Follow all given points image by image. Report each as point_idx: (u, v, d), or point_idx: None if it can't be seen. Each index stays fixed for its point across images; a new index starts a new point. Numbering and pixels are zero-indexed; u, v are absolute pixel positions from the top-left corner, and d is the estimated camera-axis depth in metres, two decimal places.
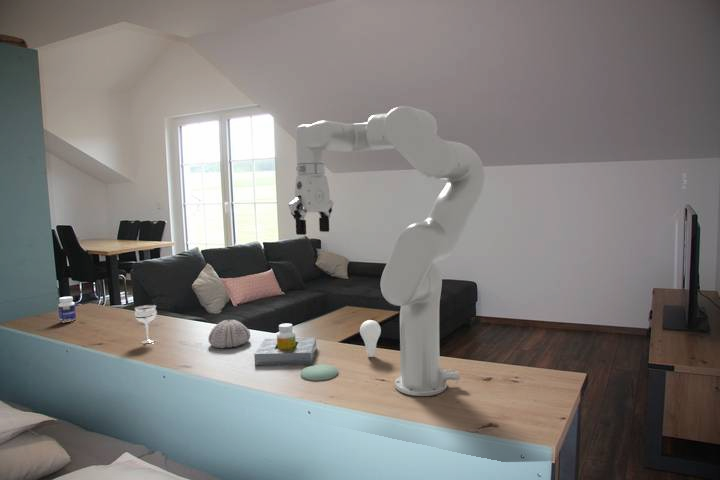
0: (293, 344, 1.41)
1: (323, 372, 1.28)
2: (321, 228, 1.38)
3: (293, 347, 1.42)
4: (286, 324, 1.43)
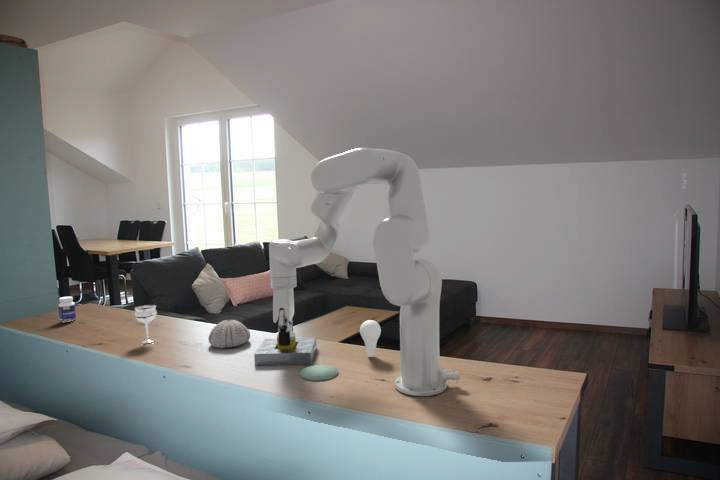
0: (293, 344, 1.41)
1: (323, 372, 1.28)
2: None
3: (293, 347, 1.42)
4: None
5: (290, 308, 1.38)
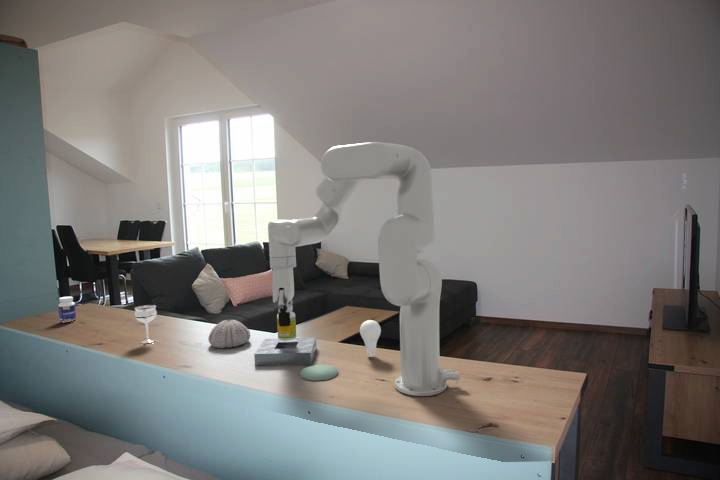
0: (293, 325, 1.41)
1: (323, 372, 1.28)
2: None
3: (293, 328, 1.41)
4: None
5: (290, 288, 1.38)
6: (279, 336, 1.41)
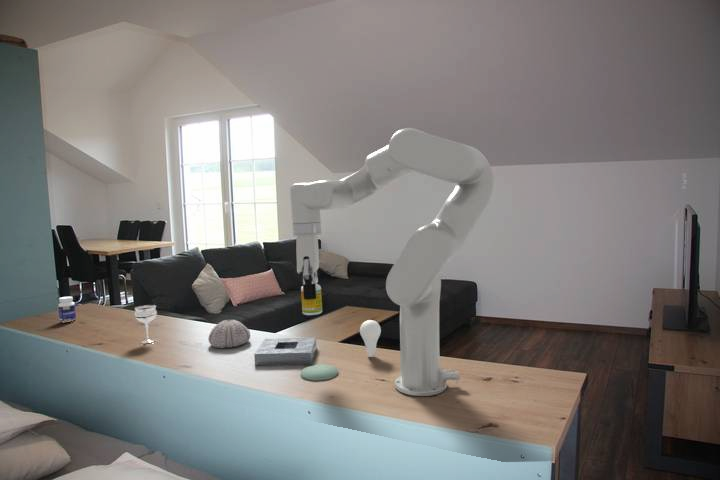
0: (319, 298, 1.28)
1: (323, 372, 1.28)
2: None
3: (319, 302, 1.28)
4: None
5: (315, 257, 1.25)
6: (304, 311, 1.28)
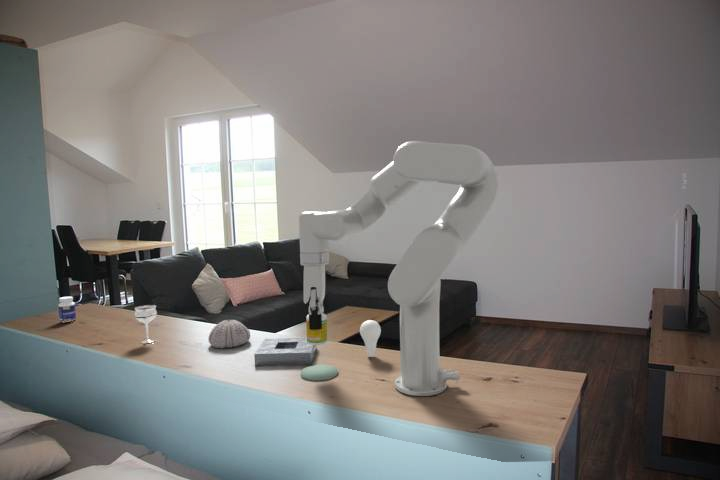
0: (324, 328, 1.27)
1: (323, 372, 1.28)
2: None
3: (325, 332, 1.27)
4: None
5: (322, 287, 1.23)
6: (309, 340, 1.26)
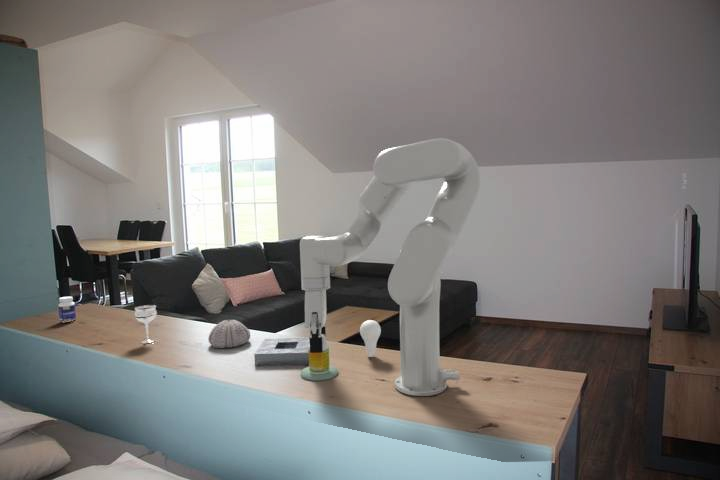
0: (327, 357, 1.27)
1: None
2: None
3: (327, 361, 1.27)
4: None
5: (324, 312, 1.24)
6: (311, 370, 1.27)
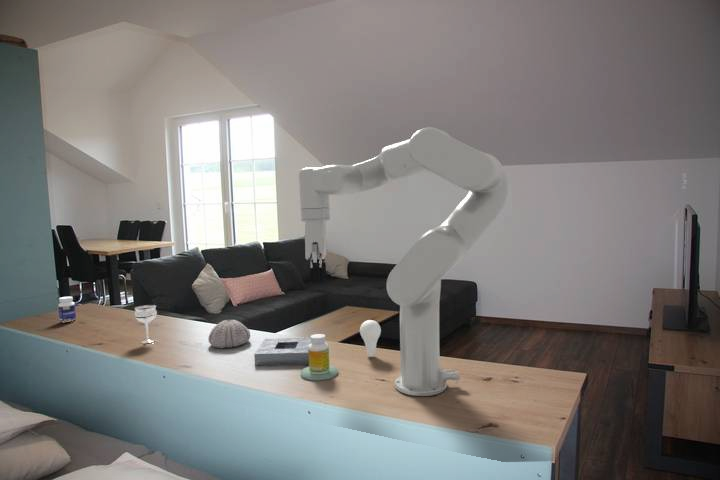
0: (326, 357, 1.27)
1: None
2: None
3: (327, 361, 1.27)
4: (318, 335, 1.29)
5: (324, 243, 1.23)
6: (311, 370, 1.27)
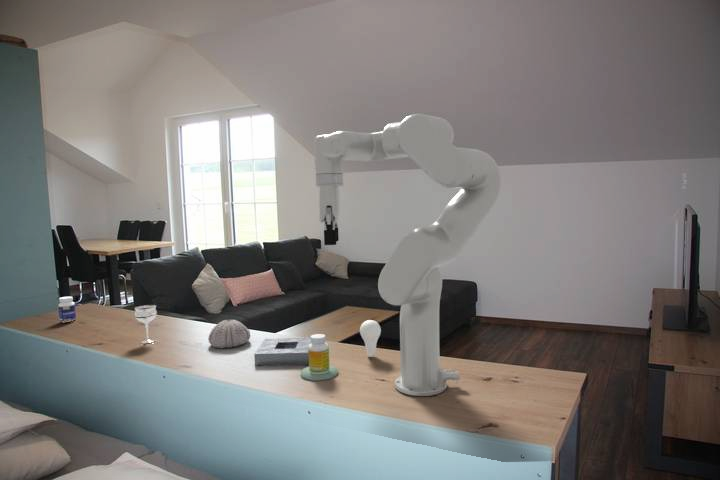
0: (326, 357, 1.27)
1: None
2: None
3: (327, 361, 1.27)
4: (318, 335, 1.29)
5: (337, 207, 1.29)
6: (311, 370, 1.27)
